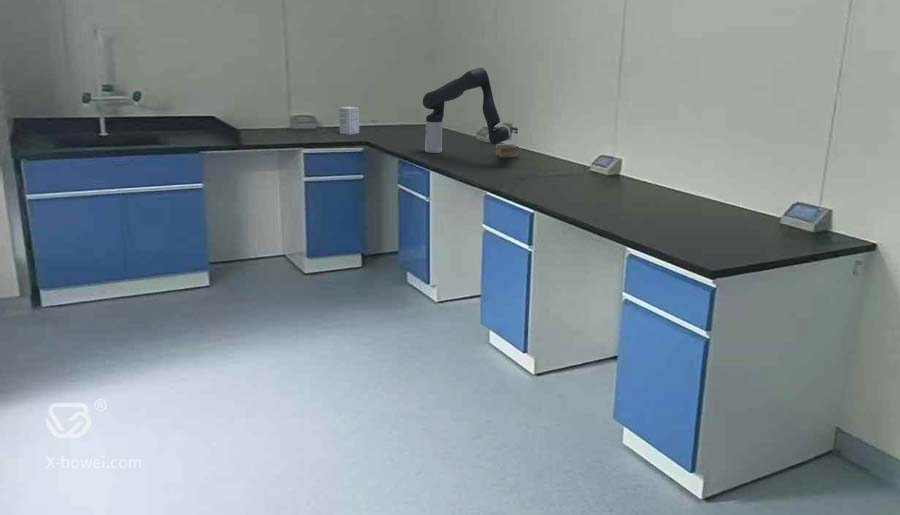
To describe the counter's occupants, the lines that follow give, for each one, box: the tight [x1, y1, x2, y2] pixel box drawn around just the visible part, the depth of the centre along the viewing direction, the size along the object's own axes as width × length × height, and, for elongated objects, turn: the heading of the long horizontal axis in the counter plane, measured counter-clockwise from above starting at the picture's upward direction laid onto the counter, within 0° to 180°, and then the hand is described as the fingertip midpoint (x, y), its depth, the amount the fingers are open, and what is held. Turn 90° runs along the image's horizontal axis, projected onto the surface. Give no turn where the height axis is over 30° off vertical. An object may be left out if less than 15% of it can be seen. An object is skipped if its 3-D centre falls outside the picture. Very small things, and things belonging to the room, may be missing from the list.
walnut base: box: [495, 143, 519, 158], centre depth 414 cm, size 10×10×6 cm
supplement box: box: [338, 106, 360, 136], centre depth 482 cm, size 10×9×17 cm
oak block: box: [502, 120, 513, 142], centre depth 409 cm, size 4×4×10 cm
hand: (508, 128), depth 411 cm, fingers closed on oak block, 4 cm apart
